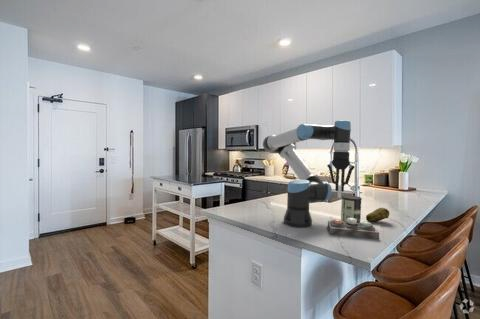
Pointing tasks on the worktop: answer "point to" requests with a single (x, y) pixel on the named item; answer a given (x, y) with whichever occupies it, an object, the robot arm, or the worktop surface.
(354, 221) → the button cream
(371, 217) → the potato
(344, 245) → the worktop surface
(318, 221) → the worktop surface
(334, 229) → the button board
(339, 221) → the button terracotta
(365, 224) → the button sage
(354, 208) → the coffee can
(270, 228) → the worktop surface
